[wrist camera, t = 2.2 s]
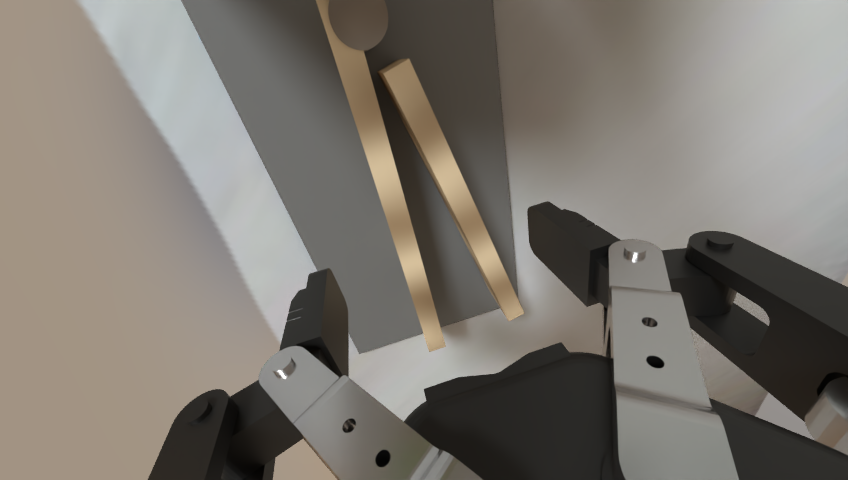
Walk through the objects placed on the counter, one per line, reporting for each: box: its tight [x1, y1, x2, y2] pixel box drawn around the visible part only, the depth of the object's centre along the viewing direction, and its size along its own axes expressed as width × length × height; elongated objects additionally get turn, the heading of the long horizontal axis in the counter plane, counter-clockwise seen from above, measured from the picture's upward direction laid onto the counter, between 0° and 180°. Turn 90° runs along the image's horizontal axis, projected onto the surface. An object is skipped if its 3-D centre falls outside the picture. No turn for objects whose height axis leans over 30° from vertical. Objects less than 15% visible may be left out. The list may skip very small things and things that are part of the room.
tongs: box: [316, 0, 446, 352], centre depth 21 cm, size 24×3×4 cm, turn 15°
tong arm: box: [377, 59, 524, 321], centre depth 22 cm, size 20×1×4 cm, turn 29°
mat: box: [181, 0, 518, 354], centre depth 23 cm, size 28×16×1 cm, turn 15°
